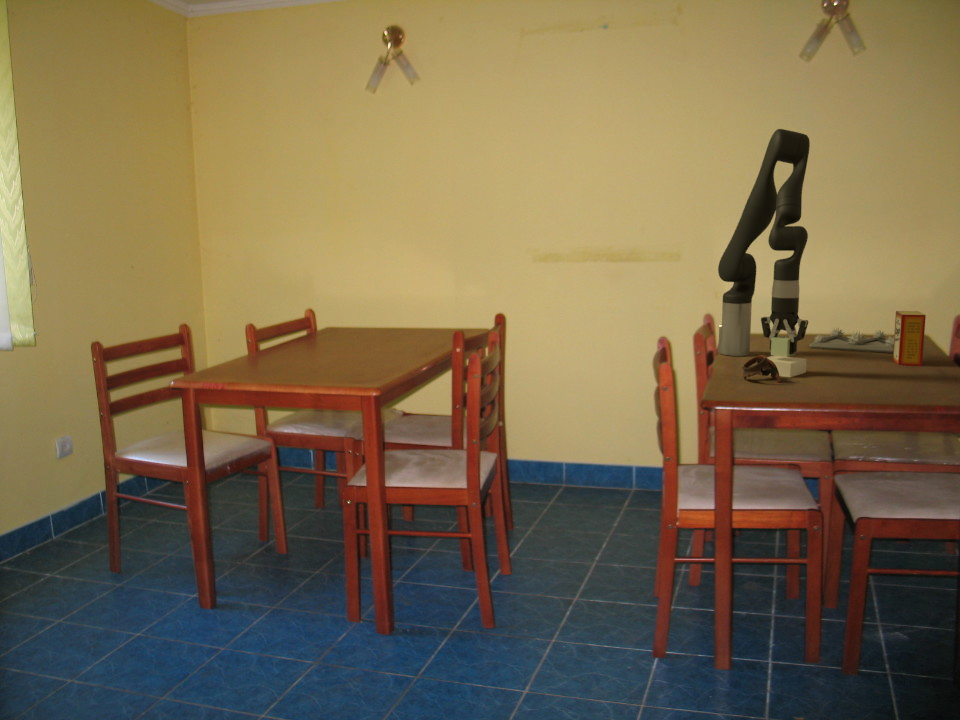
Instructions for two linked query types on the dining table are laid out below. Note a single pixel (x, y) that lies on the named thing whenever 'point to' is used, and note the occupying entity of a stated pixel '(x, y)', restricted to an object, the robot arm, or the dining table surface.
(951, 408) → the dining table surface
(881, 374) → the dining table surface
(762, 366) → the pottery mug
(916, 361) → the baking soda box
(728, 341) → the robot arm
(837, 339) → the decorative plate
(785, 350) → the cube
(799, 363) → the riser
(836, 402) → the dining table surface
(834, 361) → the dining table surface
